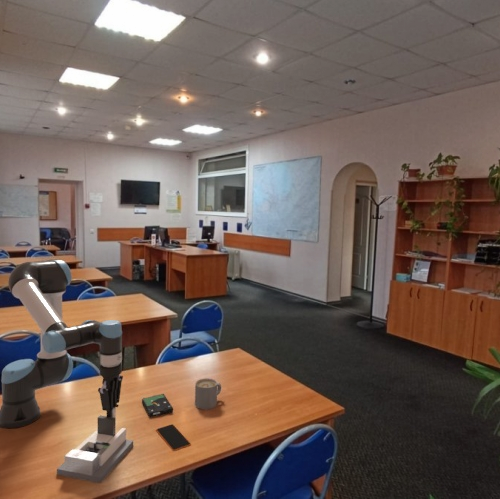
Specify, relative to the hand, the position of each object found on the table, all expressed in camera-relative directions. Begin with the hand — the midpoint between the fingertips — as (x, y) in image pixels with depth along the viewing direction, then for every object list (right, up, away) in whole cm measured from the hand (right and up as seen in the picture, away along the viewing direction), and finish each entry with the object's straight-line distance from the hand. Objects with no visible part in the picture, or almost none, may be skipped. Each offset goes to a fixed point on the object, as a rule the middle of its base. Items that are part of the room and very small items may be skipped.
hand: (111, 424), depth 146 cm
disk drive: (+10, -6, +30) cm, 32 cm away
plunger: (-1, -6, -5) cm, 8 cm away
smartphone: (+21, -9, +7) cm, 24 cm away
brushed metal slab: (-4, -7, -16) cm, 18 cm away
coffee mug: (+33, -6, +35) cm, 49 cm away
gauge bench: (-2, -9, -7) cm, 11 cm away
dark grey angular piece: (-1, -7, -9) cm, 12 cm away
